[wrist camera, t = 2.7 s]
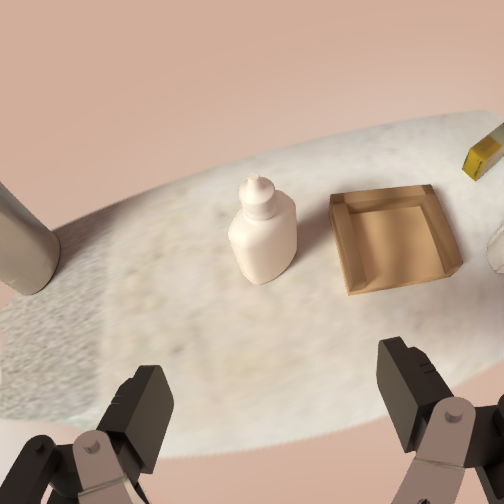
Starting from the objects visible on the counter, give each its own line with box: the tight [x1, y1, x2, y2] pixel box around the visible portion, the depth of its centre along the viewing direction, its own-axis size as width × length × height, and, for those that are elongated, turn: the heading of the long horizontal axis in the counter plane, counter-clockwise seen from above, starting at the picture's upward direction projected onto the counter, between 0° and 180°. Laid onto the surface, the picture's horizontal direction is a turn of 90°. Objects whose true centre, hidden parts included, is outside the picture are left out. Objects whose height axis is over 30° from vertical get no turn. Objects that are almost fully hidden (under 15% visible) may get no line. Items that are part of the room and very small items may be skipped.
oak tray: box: [329, 184, 463, 296], centre depth 28 cm, size 11×9×3 cm
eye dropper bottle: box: [228, 172, 297, 285], centre depth 25 cm, size 4×6×12 cm
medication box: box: [462, 123, 504, 181], centre depth 31 cm, size 12×3×4 cm, turn 122°
